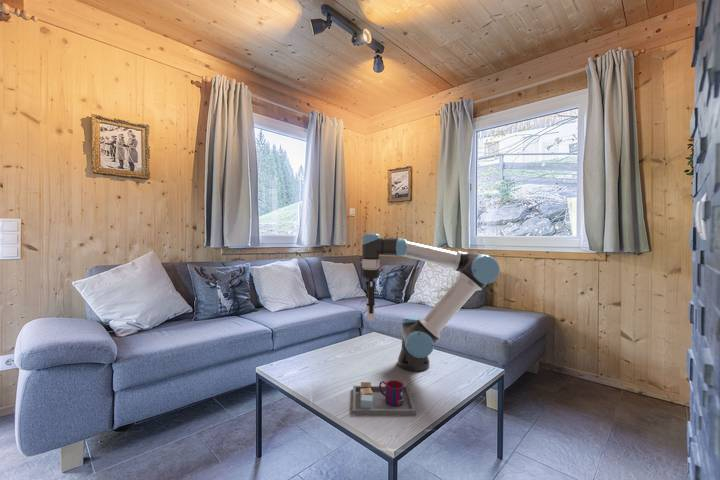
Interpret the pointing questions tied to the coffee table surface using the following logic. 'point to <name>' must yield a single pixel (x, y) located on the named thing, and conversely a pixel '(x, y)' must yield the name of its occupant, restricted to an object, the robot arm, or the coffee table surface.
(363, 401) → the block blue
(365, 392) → the block beech
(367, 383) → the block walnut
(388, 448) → the coffee table surface
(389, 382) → the mug
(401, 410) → the tray
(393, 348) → the coffee table surface
